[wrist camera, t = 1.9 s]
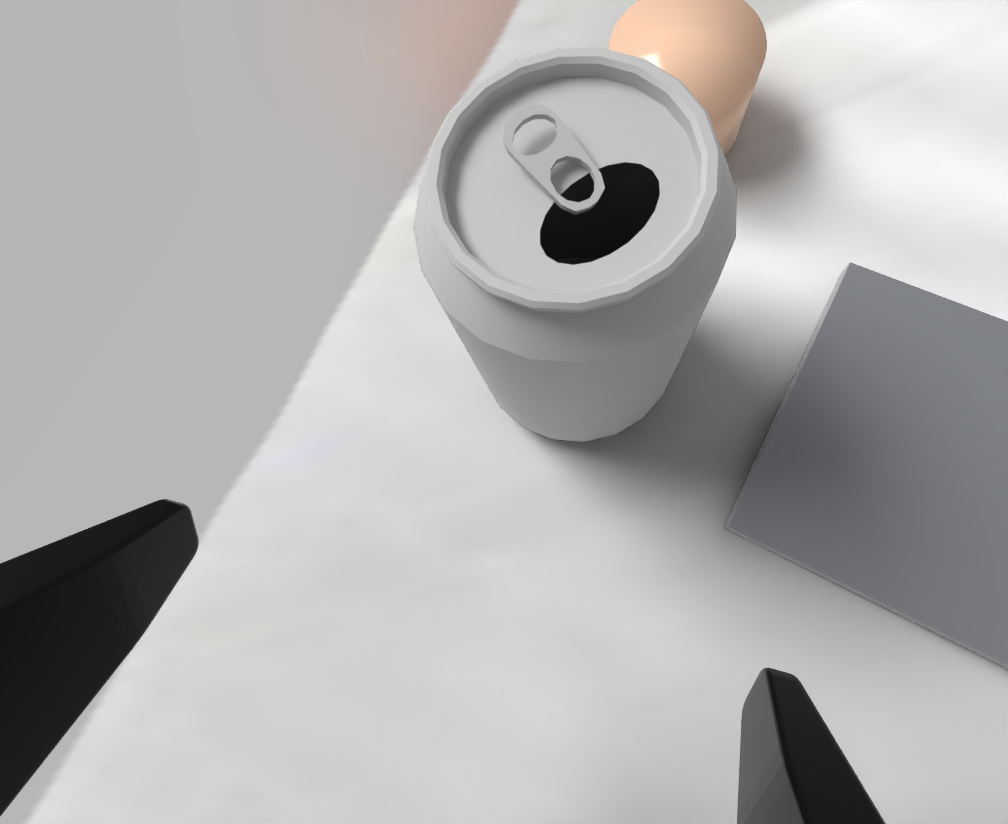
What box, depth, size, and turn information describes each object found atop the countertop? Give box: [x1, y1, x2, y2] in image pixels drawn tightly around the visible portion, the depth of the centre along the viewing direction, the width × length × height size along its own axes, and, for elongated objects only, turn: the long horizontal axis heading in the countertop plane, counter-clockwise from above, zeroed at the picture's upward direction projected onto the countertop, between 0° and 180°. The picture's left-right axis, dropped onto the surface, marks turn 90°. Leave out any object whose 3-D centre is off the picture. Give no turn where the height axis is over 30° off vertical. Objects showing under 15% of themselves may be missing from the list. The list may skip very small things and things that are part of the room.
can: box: [413, 48, 737, 442], centre depth 18 cm, size 8×8×12 cm
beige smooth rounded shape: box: [609, 0, 767, 156], centre depth 24 cm, size 6×6×4 cm
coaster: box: [724, 263, 1008, 669], centre depth 21 cm, size 11×11×1 cm
